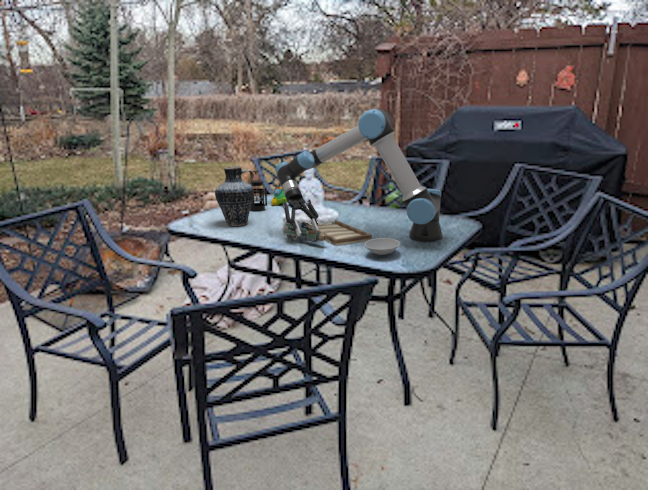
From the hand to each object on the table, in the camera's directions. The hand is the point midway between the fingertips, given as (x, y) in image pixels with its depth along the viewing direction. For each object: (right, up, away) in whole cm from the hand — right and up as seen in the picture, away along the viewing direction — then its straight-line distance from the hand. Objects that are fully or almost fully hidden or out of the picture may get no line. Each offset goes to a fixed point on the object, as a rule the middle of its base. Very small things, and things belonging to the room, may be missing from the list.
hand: (308, 233), depth 222 cm
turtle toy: (-17, +21, +89) cm, 93 cm away
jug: (-38, +5, +38) cm, 54 cm away
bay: (+12, 0, +19) cm, 22 cm away
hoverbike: (-2, -3, +4) cm, 5 cm away
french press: (-32, +15, +70) cm, 79 cm away
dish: (+31, -9, -14) cm, 35 cm away
